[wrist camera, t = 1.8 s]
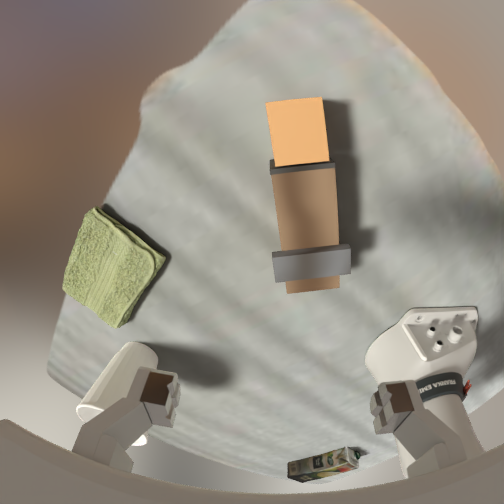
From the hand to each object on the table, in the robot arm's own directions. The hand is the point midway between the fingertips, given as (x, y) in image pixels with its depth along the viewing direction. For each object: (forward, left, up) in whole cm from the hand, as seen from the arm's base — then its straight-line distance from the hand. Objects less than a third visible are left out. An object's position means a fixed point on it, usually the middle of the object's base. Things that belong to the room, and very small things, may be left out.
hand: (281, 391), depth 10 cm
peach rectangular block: (-3, -7, -25) cm, 26 cm away
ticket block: (-3, +3, -25) cm, 26 cm away
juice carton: (-6, +78, -26) cm, 82 cm away
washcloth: (+25, +7, -26) cm, 37 cm away
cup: (+27, +25, -25) cm, 45 cm away
